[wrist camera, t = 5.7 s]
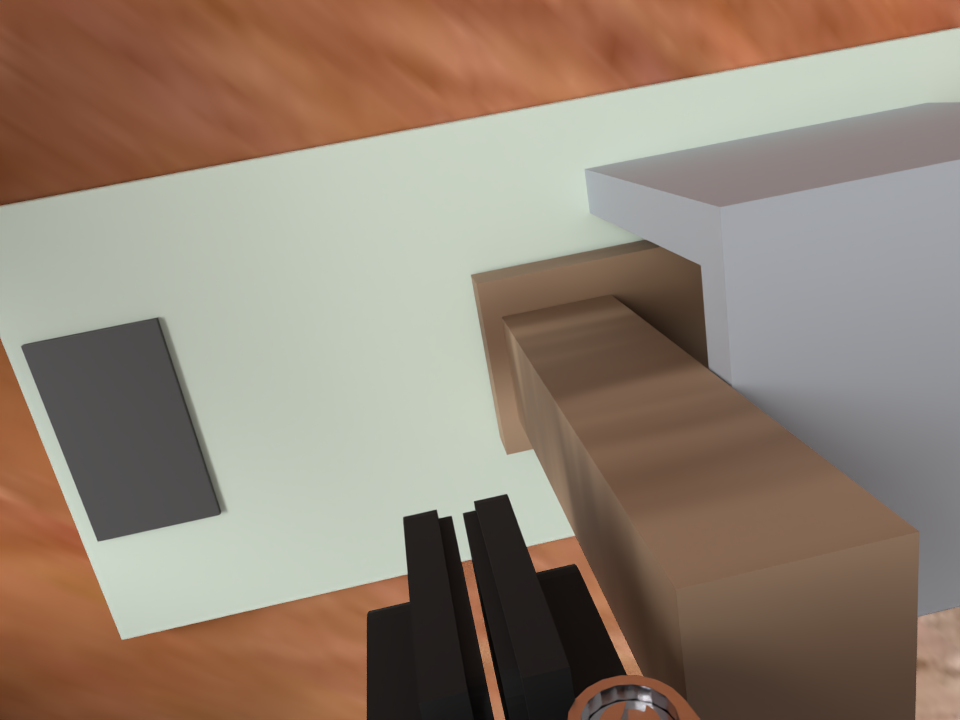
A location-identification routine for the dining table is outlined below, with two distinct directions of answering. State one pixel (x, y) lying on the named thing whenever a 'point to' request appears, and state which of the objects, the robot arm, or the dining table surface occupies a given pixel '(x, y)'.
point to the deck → (338, 328)
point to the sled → (699, 497)
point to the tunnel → (831, 295)
